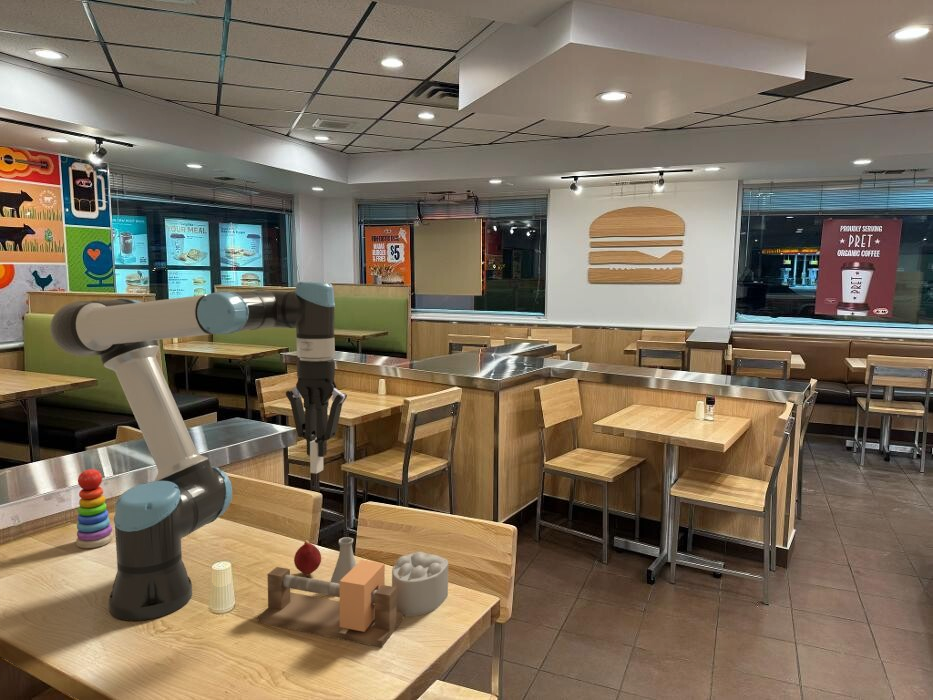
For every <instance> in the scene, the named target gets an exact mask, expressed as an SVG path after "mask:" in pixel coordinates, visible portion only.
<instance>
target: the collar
mask: <svg viewBox="0 0 933 700" xmlns="http://www.w3.org/2000/svg"><path fill="white" fill-rule="evenodd" d="M356 564H357V565H356V566H355V567H353V568H352V569H351V570H350V571H349V572H348V573H347V574H346V575H345V576H344V577H343V578H342V579H341V580H340V597H339V601H340V627H342V628H347V629H352V630H358V631H363V632H365V630H366V629H367V628H368V627H369V626H370V624H371V623H372V622H373V621H374V619H375V604H374V603H371V592H372V591H373V590H378V589H379V588H380V586H381V585H386V584H385V583H386V581H385V574H386V573H385V570H386V569H385V568H386V567H385V563H383V562H377V561H376V562H375V561H369V560H364V559H361V560H360V561H358V562H357V563H356Z"/></svg>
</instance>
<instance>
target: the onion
mask: <svg viewBox="0 0 933 700" xmlns="http://www.w3.org/2000/svg"><path fill="white" fill-rule="evenodd" d="M293 562H294V566H295V568H296V569H297V570H298V571H299V572H300V573H302V574H304V575H305V576H310V575H311V574H312V573H314V572H315V571H317V570H318V568H319V566H320V565H321V563H322V554H321V552H320V550H319V548H318V547H317V546H315V545H314V544H312V543H311V542H309V541H308V540H307V539H306V540H304V544H302V545H301V546H300V547H299V548H298V549H297V550H296V552H295V554H294V557H293Z"/></svg>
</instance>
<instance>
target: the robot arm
mask: <svg viewBox="0 0 933 700" xmlns="http://www.w3.org/2000/svg"><path fill="white" fill-rule="evenodd" d="M335 307H336V303H335V291H334V286H333V285H332V283H330V282H327V281H325V282H323V281H322V282H321V281H298V282H297V283H296V284H295V289H294V290H292V291H288V290H287V291H286V290H267V289H255V290H246V291H228V290H227V291H215V292H212V293H209V294H201V295H191V296H184V297H174V298H167V299H159V300H158V299H157V300H151V301H141V300H138V299H129V298H116V299H101V300H97V299H96V300H79V301H75V302H74V301H73V302H70V303H68V304H65V305H63V306H61V307H60V308H59V309H58V310H57V311H56V312H55V314H54V315H53V316H52V318H51V321H50V325H49V327H50V329H49V330H50V331H49V332H50V336H51V338H52V340H53V342H54V344H55V345H56V346H57V347H58V348H60V349H61V350H63V352H66V353H67V354H69V355H73V356H77V357H93V356H99V358H100V360H101V362H102V365H103V367H104V368H106V369H108V370H111V371H113V372H115V375H116V377H117V379H118V382H119V384H120V386H121V388H122V390H123V394H124V395H125V398H126V400H127V402H128V404H129V407H130V409H131V412H132V413H133V415H134V418H135V421H136V422H137V425H138V428H139V430H140V432H141V434H142V436H143V438H144V441H145V444H146V445H147V448H148V450H149V452H150V454H151V457H152V459H153V461H154V464H155V466H156V468H157V474H156V476H155V479H154V481H148V482H147V483H140V484H138V485H136V486H133V487H131V488H128V489H127V490H125V491H124V492H123V493H121V494H120V495H119V497H118V498H117V499H116V501H115V505H114V517H113V523H114V529H115V530H114V532H115V533H114V534H115V546H116V547H115V548H116V565H117V567H116V568H117V571H116V574H115V578H114V580H113V585H112V588H111V592H110V594H109V597H108V598H109V599H108V610H109V613H110V615H111V616H112V617H114V618H115V619H118V620H122V621H131V622H135V621H136V622H137V621H138V622H139V621H145V620H152V619H156V618H160V617H163V616H166V615H168V614H169V615H170V614H171V613H173V612H175V611H178V610H179V609H181V608H182V607H184V606H185V605H186V604H187V603H189V602H190V600H192V597H193V584H192V580H191V578H190V577H189V575H188V572H187V571H188V570H187V569H186V567H185V564H184V561H183V557H182V539H183V538H185V537H186V536H188V535H190V534H192V533H194V532H196V531H197V530H199V529H201V528H202V527H204V526H206V525H209V524H211V523H214V522H215V521H216V520H217V519H218V518H219V517H220V516H222V515H223V514H225V513H226V512H227V510H228V509H229V507H230V504H231V502H232V500H233V499H232V498H233V487H232V482H231V480H230V478H229V476H228V474H227V473H226V472H225V471H224V470H221V469H220V468H219V467H217V466H212V464H211V462H210V460H209V458H208V457H207V456H204V455H201V454H199V453H198V451H197V449H196V447H195V444H194V442H193V439H192V438H191V434H190V432H189V430H188V428H187V425H186V423H185V422H184V419H183V417H182V414H181V413H180V412H181V411H180V409H179V408H178V405H177V403H176V401H175V398H174V396H173V394H172V391H171V389H170V387H169V385H168V382H167V380H166V378H165V376H164V375H165V374H164V373H163V371H162V368H161V367H160V364H159V362H158V359H157V355H158V352H159V350H160V345H159V344H158V341H160V340H169V339H178V338H179V339H180V338H186V337H187V338H188V337H189V338H190V337H198V336H199V337H200V336H209V335H228V334H235V333H238V332H246V331H255V330H264V329H270V328H276V329H277V328H280V329H281V328H282V329H285V328H286V329H295V330H296V331H295V332H296V356H297V358H299V359H297V361H296V376H297V382H296V384H295V387H294V388H292V389H290V390H286V392H285V396H286V397H287V399H288V401H289V403H290V407H291V411H292V416H293V420H294V425H295V429H296V433H297V434H296V435H297V437H299V438H303V439H304V440H305V441H306V455H307V456H308V457H309V458H310V459H309V460H310V461H309V464H310V465H309V467H310V468H309V470H310V471H309V473H310V474H318V473H320V472H322V471H323V470H324V457H325V456H327V450H328V449H327V448H328V447H327V445H328V441H329V440H331V439H333V438H335V437H336V435H337V430H338V426H339V420H340V418H341V417H340V416H341V413H342V408H343V404H344V402H345V401H346V399H347V398H348V395H347V393H345V392H343V393H342V392H341V391H340V390H339V389H337V384H336V382H335V377H336V376H335V375H336V361H335V359H333V358H334V357H335V356H336V350H335V349H336V348H335V346H336V344H335ZM302 399H303V400H302ZM330 399H331V400H332V403H331V406H330V408H329V405H330V403H329V401H330ZM328 408H329V409H328ZM328 410H329V415H328Z"/></svg>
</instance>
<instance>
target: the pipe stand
mask: <svg viewBox="0 0 933 700" xmlns="http://www.w3.org/2000/svg"><path fill="white" fill-rule="evenodd" d="M291 590H297V591H302V592H303V591H304V592H307V593H308V592H309V593H312V594H313V593H314V594H318V595H319V594H320V595H325V596H329V597H337V598H340V584H339V583H333V582H330V581H327V580H321V579H320V580H319V579H314V578H308V577H305V576H304V577H303V576H297V575H291V570H290V568H286V567H279V566H276V567H274V568H273V569H272V570H271V571H269V572H268V573H267V608H265V610H264V611H262V612H261V613H260V614H259V615H257V623H258V624H264V625H269V626H275V627H278V628H279V627H280V628H283V629H288V630H295V631H298V632H299V631H300V632H303V633H311V634H314V635H319V636H324V637H329V638H334V639H338V638H339V640H343V639H344V641H348V640H349V642H353V641H354V642H353V643H358V644H364V645H367V646H368V645H369V646H374V647H378V646H379V647H378V648H383V646H384V645H385V644H386V643H387V641H388V640H389V639H390V638H391V636H392V635H393V633H394V632H395V630H397V628H398V626H399V625H400V623H401V622H402V621H403V619H404V615H403V613H401V612H396V590H397V587H392V585H386V584H385V585H381V586H380V588H379V589H378V590H373V591H372V592H371V603H374V604H375V619H374V621H373V622H372V623H371V624H370V626H369V627H368V628H367V629H366V630H365V632H363V631H358V630H352V629H347V628H342V627H340V600H335V599H329V598H322V597H317V596H313V595H312V596H311V595H308V594H301V593H297V592H296V593H294V592H291Z"/></svg>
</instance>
